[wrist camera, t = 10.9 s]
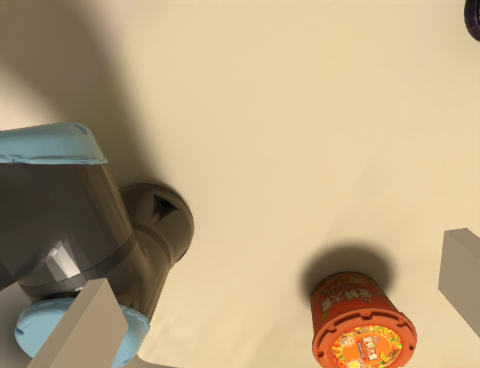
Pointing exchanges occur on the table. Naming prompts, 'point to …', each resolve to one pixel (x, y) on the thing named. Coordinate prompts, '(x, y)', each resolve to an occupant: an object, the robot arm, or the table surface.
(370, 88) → the table surface
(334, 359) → the food container
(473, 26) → the storage jar
